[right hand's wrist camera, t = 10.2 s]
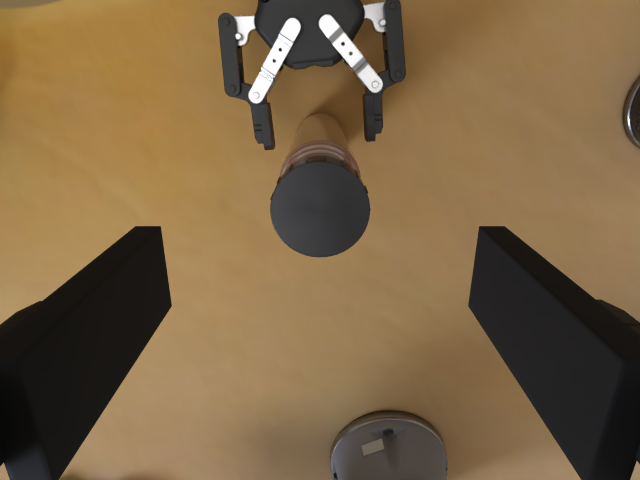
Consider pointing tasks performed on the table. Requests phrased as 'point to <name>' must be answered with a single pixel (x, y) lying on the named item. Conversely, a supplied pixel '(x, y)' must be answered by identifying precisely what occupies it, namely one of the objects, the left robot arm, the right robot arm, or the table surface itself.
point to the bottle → (319, 142)
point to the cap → (320, 206)
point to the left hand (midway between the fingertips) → (320, 144)
